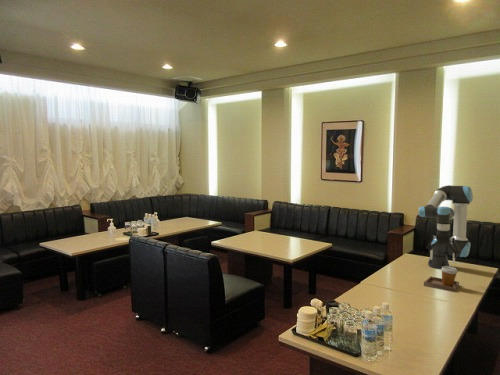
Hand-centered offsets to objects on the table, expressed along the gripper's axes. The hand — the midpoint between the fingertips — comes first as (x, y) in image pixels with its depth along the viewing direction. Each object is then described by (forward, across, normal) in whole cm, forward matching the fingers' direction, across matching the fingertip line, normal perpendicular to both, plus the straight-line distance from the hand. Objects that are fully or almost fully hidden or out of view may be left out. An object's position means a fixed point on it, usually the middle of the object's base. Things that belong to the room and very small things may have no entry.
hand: (442, 260), depth 239 cm
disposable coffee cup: (+16, +4, 0) cm, 17 cm away
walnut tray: (+17, 0, -1) cm, 17 cm away
